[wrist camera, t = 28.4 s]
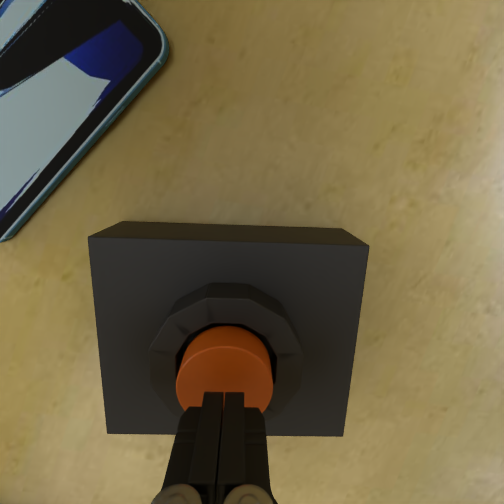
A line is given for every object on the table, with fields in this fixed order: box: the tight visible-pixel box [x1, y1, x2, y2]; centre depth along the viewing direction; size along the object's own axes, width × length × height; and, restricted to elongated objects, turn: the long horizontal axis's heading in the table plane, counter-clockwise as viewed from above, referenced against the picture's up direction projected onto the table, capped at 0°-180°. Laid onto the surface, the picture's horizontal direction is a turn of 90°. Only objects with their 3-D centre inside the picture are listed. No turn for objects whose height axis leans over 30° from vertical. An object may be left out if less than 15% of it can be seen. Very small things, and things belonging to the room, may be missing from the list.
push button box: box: [88, 221, 369, 437], centre depth 17 cm, size 13×11×6 cm
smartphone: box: [0, 0, 169, 243], centre depth 16 cm, size 7×1×15 cm
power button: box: [176, 326, 273, 413], centre depth 14 cm, size 4×4×2 cm
